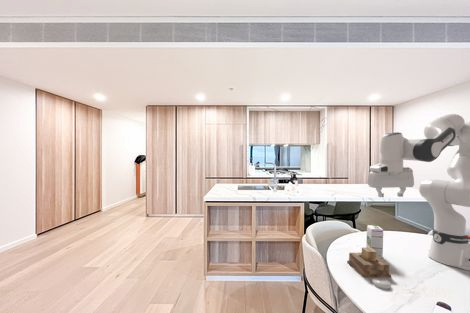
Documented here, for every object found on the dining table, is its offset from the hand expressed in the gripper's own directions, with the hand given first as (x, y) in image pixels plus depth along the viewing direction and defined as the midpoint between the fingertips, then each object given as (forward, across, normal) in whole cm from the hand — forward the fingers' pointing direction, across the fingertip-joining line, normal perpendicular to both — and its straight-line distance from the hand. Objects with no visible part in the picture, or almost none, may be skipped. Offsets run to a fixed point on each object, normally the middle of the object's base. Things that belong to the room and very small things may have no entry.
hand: (390, 196), depth 104 cm
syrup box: (+32, +2, -7) cm, 33 cm away
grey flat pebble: (+31, +16, +17) cm, 39 cm away
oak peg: (+30, +14, +6) cm, 34 cm away
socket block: (+31, +14, +6) cm, 35 cm away
